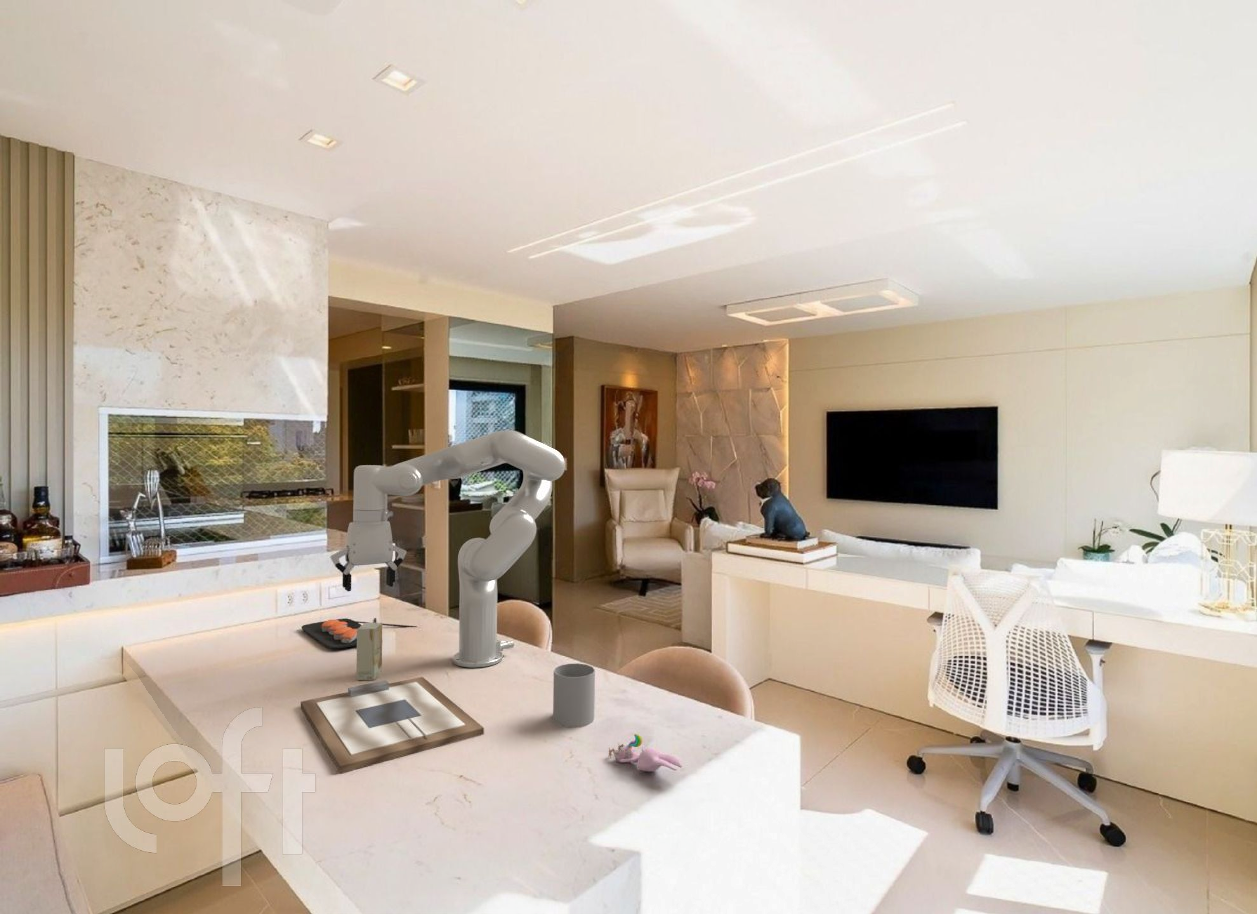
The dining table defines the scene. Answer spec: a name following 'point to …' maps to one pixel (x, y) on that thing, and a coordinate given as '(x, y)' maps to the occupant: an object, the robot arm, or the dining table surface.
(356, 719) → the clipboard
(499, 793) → the dining table surface
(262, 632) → the dining table surface
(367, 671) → the skincare box
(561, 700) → the cup
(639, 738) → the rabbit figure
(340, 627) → the sushi plate
